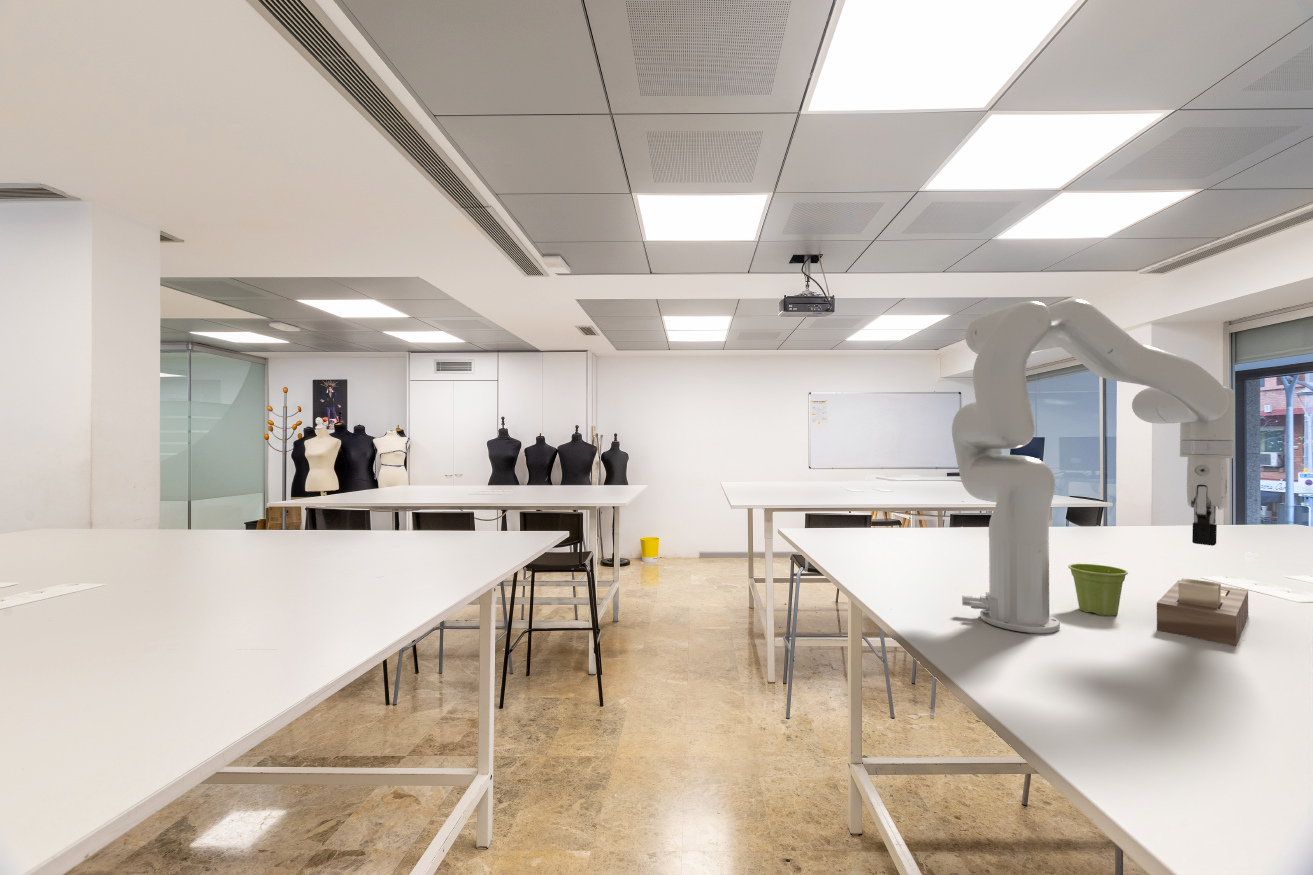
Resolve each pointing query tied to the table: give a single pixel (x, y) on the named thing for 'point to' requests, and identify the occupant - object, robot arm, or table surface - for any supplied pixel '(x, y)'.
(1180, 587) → the peg near
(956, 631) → the table surface
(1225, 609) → the peg board
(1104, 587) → the plant pot
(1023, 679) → the table surface
